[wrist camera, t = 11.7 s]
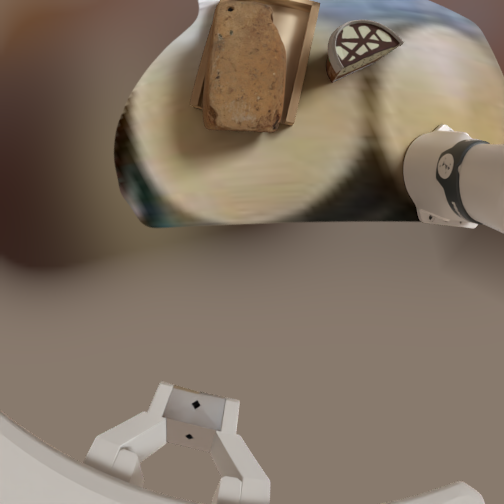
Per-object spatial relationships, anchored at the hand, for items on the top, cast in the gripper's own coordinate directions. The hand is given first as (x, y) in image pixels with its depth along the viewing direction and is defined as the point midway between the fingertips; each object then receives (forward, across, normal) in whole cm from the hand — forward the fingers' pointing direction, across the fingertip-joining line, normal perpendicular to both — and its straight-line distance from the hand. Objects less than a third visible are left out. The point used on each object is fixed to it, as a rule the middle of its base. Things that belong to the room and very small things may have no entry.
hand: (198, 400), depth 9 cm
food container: (+37, -9, -29) cm, 48 cm away
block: (+33, +4, -11) cm, 35 cm away
